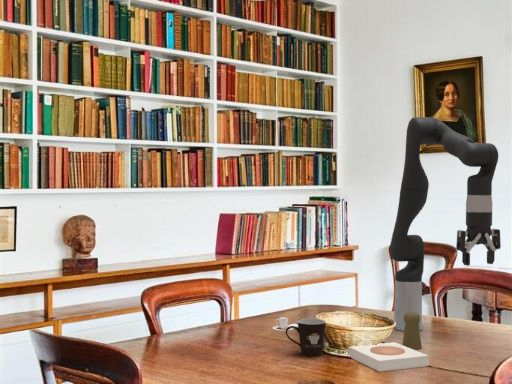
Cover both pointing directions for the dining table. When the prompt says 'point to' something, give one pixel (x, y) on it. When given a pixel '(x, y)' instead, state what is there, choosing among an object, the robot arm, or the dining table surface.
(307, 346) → the coffee mug
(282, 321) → the teacup and saucer
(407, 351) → the plinth
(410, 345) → the brown pawn
